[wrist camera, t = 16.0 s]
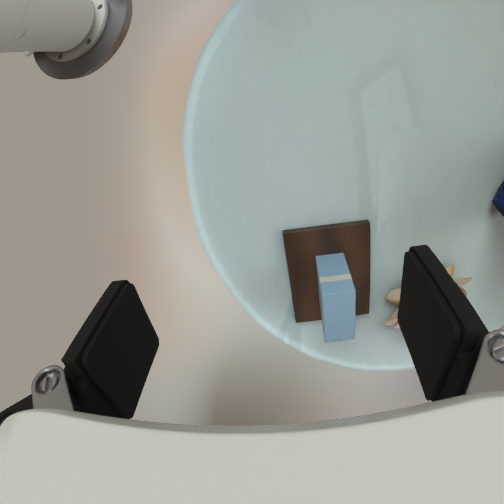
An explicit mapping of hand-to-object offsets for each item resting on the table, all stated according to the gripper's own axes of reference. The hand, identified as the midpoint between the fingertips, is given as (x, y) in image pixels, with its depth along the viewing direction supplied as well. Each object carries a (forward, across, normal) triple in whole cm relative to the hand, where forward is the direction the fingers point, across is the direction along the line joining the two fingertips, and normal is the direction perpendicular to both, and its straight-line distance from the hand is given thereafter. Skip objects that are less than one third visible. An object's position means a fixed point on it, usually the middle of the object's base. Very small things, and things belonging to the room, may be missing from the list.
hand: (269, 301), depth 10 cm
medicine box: (+30, -6, +20) cm, 36 cm away
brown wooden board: (+31, -6, +20) cm, 37 cm away
